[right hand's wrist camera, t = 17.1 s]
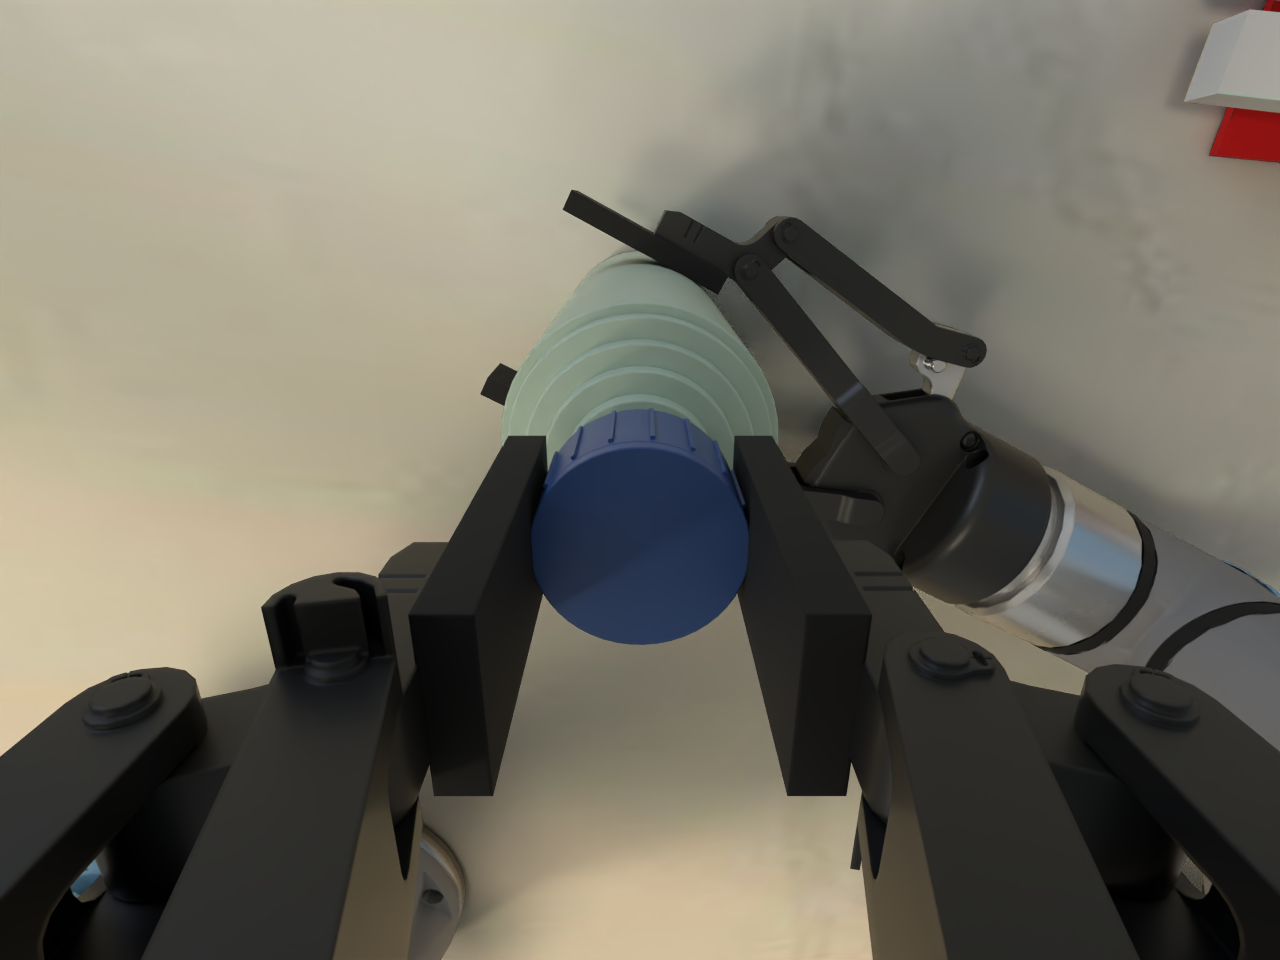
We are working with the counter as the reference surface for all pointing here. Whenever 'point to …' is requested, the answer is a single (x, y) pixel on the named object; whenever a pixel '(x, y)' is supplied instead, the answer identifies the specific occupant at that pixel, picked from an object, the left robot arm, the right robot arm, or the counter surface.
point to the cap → (640, 529)
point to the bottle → (639, 360)
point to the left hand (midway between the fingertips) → (529, 293)
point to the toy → (1243, 83)
